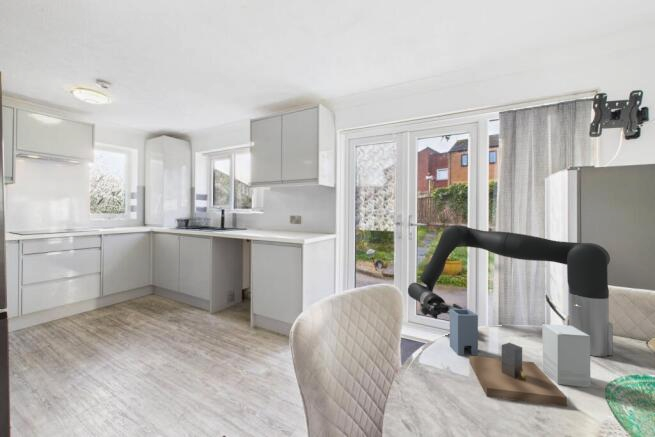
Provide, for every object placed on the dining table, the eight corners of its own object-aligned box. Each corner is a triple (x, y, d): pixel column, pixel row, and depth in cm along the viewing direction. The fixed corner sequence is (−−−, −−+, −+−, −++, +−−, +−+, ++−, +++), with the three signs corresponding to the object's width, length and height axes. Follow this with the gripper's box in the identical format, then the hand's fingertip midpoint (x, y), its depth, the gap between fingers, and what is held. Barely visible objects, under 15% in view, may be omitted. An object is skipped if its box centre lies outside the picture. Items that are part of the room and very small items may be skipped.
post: (518, 370, 75) (518, 343, 75) (526, 380, 70) (526, 351, 70) (498, 368, 76) (498, 341, 76) (505, 378, 71) (505, 349, 71)
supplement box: (591, 388, 70) (591, 336, 70) (557, 384, 72) (556, 333, 72) (572, 372, 78) (572, 325, 78) (541, 369, 79) (541, 323, 79)
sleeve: (449, 346, 94) (449, 309, 94) (468, 346, 94) (468, 309, 94) (458, 355, 88) (457, 315, 88) (477, 355, 88) (477, 315, 88)
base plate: (533, 369, 79) (533, 362, 79) (567, 406, 64) (567, 397, 64) (469, 362, 83) (469, 355, 83) (486, 396, 67) (486, 387, 67)
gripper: (414, 293, 118) (428, 305, 102) (449, 293, 118) (469, 305, 102) (414, 311, 118) (428, 326, 102) (449, 311, 118) (469, 326, 102)
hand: (448, 315), depth 102 cm, fingers open, 8 cm apart
